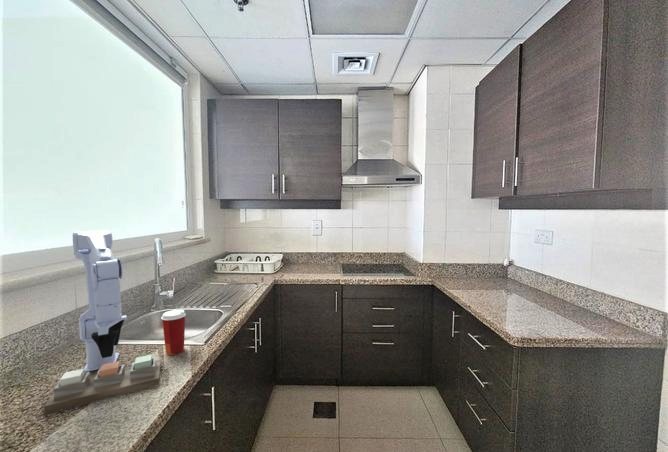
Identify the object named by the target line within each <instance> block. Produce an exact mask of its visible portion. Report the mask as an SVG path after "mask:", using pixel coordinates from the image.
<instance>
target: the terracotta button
mask: <svg viewBox="0 0 668 452" xmlns="http://www.w3.org/2000/svg"><path fill="white" fill-rule="evenodd" d="M120 365H121V364H120V360H119V361H118V360H117V361H116V362H113V363H108V364H103V365H102V366H101V368H100V370H99V369H98V370H99V378H100V377H105V376H109V375H114V374H118V373H119V370H120Z"/></svg>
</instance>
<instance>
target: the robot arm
mask: <svg viewBox="0 0 668 452" xmlns="http://www.w3.org/2000/svg"><path fill="white" fill-rule="evenodd" d="M112 246H113V234H112V231H111V230H109V229H107V230H89V231H87V230H86V231H85V230H83V231H77V230H76V231H74V232H73V233H72V247H73V253H74V254H73V255H74V256H75V257H74V258H75V259H78V260H81V261H82V262H83V265H84V268H85V277H86V280H85V281H86V286H87V287H86V288H87V289H86V290H87V300H88V309H87V310H85V311H84V312H83V313H82V314H81V315H80V316H79V318H78V333H79V339H80V340H81V341H82V342H84V341H85V353H86V357H85V359H86V364H85V366H84V368H83V369H84V373H85V372H93V371H97V370H99V369H100V368H101V366H102V365H103V364H108V363H113V362H118V359H119V355H120V353H119V352H116V346H118V345H119V342H120V337H121V336H120V335H121V330H122V327H123V324H124V323H125V320H127V318H128V316H127V315H126V314H125V315H122V296H121V293H122V292H121V279H122V278H123V264H122V261H121V259H120V258H116V257H115V254H114V252H113V250H112Z"/></svg>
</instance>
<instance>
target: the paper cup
mask: <svg viewBox="0 0 668 452" xmlns="http://www.w3.org/2000/svg"><path fill="white" fill-rule="evenodd" d="M186 316H187V314H186V312H185V310H184V309H173V310H168V311H165V312H163V313H162V316H161V318H160V319H161V320H162V331H163V339H164V340H163V341H164V349H165V354H166V355H167V356H174V355H179V354H180V353H181V354H182V353H183V352H184V351H185V350H184V349H185V330H186V329H185V327H186Z"/></svg>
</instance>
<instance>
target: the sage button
mask: <svg viewBox="0 0 668 452" xmlns="http://www.w3.org/2000/svg"><path fill="white" fill-rule="evenodd" d="M152 358H153V354H147V355H142V356H138V357H135V359H134V362H135V364H134V365H135V370H136V369H141V368H145V367H149V366H152Z"/></svg>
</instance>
